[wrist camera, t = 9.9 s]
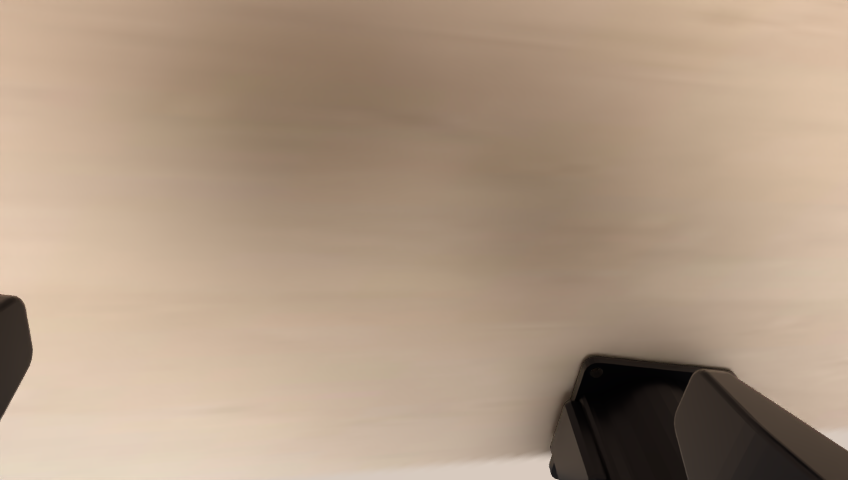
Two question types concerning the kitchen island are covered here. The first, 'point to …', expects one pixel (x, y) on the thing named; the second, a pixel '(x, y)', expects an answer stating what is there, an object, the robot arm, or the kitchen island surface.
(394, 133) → the kitchen island surface
